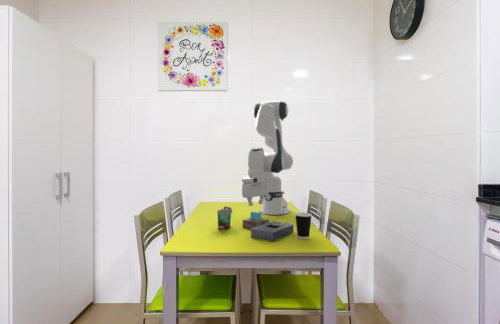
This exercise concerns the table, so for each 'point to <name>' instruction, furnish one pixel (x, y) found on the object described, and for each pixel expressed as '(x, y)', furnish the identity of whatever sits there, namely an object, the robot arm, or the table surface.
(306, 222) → the dixie cup
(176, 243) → the table surface
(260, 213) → the plug
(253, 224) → the brown hollow square block
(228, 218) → the food container
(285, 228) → the port box
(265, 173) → the robot arm
